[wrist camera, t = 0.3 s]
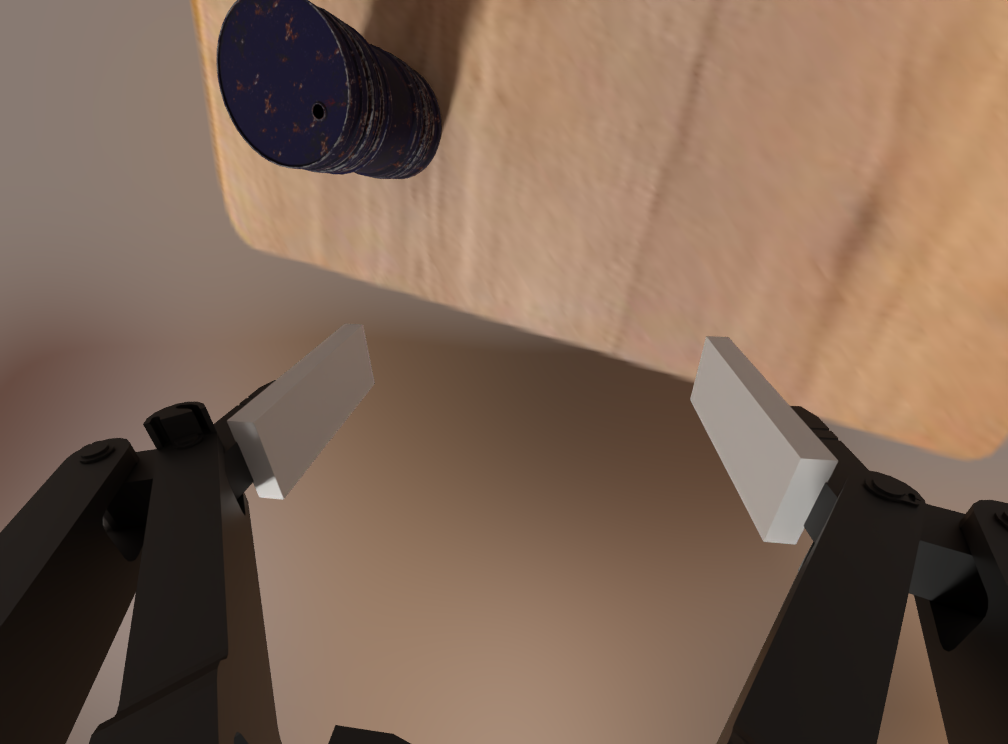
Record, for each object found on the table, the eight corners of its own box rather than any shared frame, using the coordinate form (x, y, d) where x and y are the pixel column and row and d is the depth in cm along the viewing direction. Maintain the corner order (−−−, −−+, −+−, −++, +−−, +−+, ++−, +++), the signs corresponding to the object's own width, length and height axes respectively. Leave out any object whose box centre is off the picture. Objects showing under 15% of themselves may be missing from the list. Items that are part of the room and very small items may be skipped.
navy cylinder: (334, 141, 41) (200, 112, 28) (373, 36, 37) (235, -58, 23) (414, 201, 41) (319, 201, 28) (461, 104, 37) (376, 50, 24)
